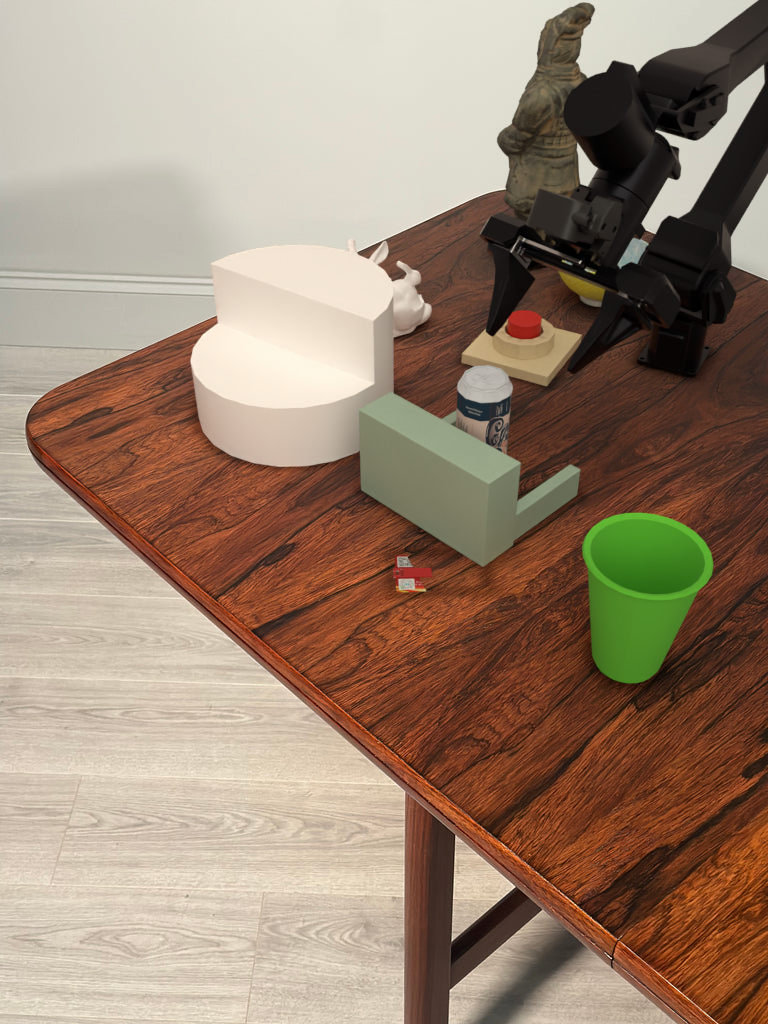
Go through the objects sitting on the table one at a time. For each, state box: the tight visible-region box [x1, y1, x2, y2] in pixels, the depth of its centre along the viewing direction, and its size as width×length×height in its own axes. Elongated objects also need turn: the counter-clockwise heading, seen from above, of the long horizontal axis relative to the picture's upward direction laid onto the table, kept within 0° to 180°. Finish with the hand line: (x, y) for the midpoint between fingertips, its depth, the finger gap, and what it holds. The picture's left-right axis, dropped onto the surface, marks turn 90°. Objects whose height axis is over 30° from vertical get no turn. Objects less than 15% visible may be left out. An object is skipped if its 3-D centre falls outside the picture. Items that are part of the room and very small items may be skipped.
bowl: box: [557, 238, 649, 308], centre depth 123 cm, size 11×12×6 cm
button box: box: [461, 318, 583, 387], centre depth 114 cm, size 10×10×3 cm
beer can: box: [456, 365, 514, 455], centre depth 93 cm, size 5×5×12 cm
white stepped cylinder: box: [190, 244, 395, 468], centre depth 103 cm, size 20×20×13 cm
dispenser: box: [359, 392, 582, 568], centre depth 93 cm, size 14×15×9 cm
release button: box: [507, 309, 543, 339], centre depth 113 cm, size 4×4×2 cm
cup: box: [581, 512, 714, 684], centre depth 77 cm, size 9×9×11 cm
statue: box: [496, 1, 596, 267], centre depth 125 cm, size 11×9×30 cm
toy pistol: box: [392, 554, 434, 594], centre depth 88 cm, size 8×1×5 cm
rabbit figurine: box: [346, 238, 433, 339], centre depth 117 cm, size 12×8×10 cm, turn 103°
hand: (528, 352), depth 92 cm, fingers open, 9 cm apart
